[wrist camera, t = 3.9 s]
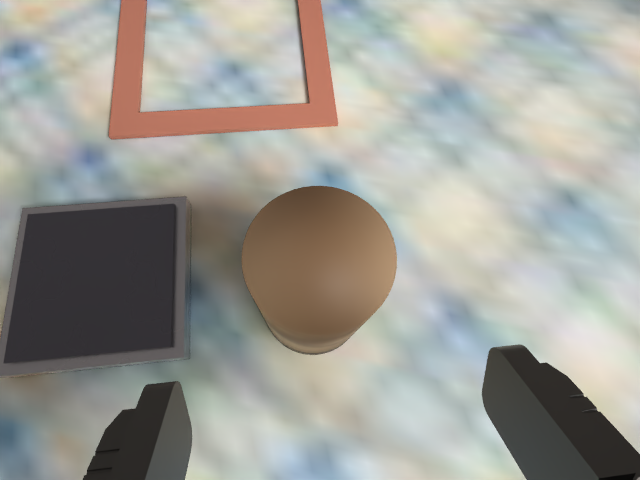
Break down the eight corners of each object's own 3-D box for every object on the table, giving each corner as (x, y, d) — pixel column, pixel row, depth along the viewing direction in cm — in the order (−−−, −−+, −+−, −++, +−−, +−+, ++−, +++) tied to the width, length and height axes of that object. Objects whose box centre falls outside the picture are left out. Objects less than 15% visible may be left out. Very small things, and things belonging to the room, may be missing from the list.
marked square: (315, -28, 28) (315, -33, 28) (337, 125, 23) (338, 122, 23) (125, -23, 27) (123, -27, 27) (111, 139, 22) (108, 136, 22)
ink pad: (191, 204, 21) (184, 193, 20) (189, 358, 19) (181, 357, 17) (35, 216, 21) (18, 205, 19) (10, 377, 18) (-12, 376, 17)
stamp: (353, 255, 21) (383, 181, 13) (367, 349, 19) (409, 325, 12) (261, 263, 20) (238, 191, 13) (267, 359, 19) (244, 342, 11)
